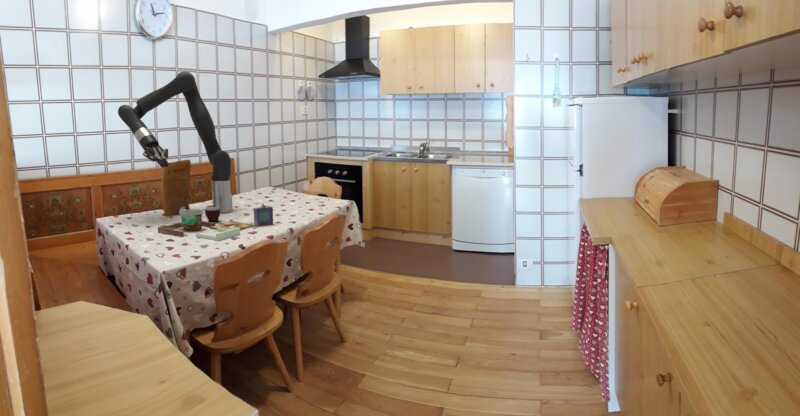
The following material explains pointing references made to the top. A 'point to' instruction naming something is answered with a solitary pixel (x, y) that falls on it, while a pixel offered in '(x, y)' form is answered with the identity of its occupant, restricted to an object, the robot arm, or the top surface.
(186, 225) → the food container
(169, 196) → the pancake mix bag
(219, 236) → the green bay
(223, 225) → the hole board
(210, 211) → the mate gourd
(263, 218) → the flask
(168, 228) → the walnut stall
